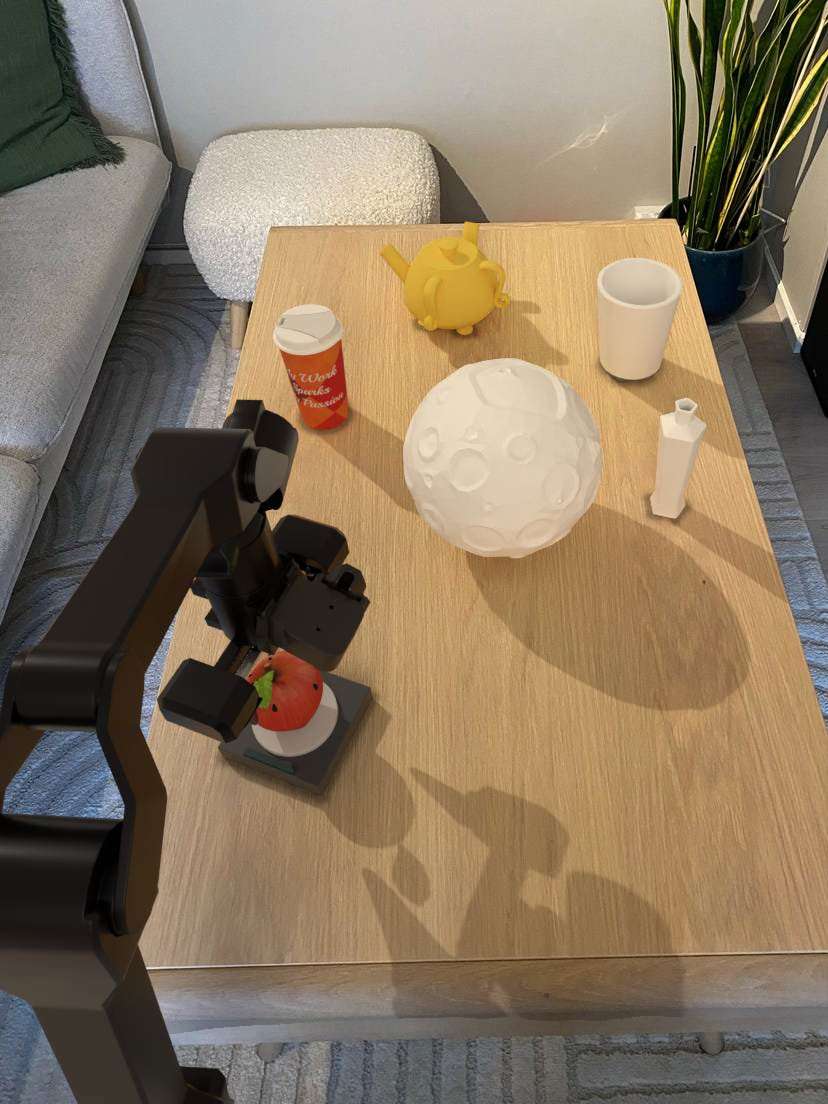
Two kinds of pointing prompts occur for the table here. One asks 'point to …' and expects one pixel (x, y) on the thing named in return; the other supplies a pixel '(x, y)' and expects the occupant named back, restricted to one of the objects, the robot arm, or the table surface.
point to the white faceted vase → (676, 457)
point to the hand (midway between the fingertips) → (280, 674)
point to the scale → (306, 738)
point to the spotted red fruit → (286, 691)
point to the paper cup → (314, 363)
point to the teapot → (450, 282)
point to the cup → (635, 315)
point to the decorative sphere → (502, 458)
